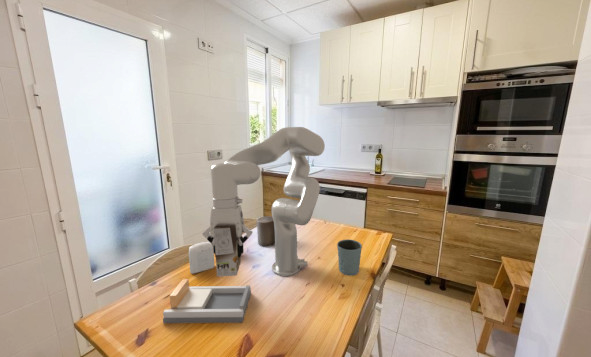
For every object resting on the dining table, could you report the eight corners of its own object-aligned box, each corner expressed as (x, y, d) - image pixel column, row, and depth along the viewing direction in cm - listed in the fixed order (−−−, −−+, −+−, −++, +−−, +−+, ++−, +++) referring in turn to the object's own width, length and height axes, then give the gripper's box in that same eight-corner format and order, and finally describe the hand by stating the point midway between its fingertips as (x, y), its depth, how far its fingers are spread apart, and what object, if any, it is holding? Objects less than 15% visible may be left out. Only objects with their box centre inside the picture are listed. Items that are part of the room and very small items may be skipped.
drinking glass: (362, 267, 106) (363, 241, 104) (358, 279, 97) (359, 251, 95) (340, 262, 110) (340, 237, 108) (334, 273, 101) (334, 247, 99)
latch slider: (212, 293, 86) (210, 278, 85) (202, 312, 77) (200, 295, 76) (184, 294, 86) (182, 279, 85) (171, 312, 77) (169, 295, 76)
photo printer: (213, 263, 110) (211, 238, 108) (216, 267, 107) (214, 241, 104) (189, 270, 105) (186, 244, 102) (191, 275, 101) (188, 248, 99)
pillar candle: (279, 241, 132) (278, 215, 130) (267, 248, 124) (266, 220, 122) (265, 238, 138) (264, 213, 135) (253, 244, 130) (252, 217, 127)
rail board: (251, 293, 89) (250, 282, 88) (242, 322, 75) (241, 309, 74) (183, 294, 89) (182, 283, 88) (163, 323, 75) (161, 310, 74)
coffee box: (237, 276, 75) (234, 227, 72) (216, 277, 74) (213, 228, 72) (241, 261, 84) (239, 217, 81) (222, 262, 83) (219, 218, 81)
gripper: (255, 199, 79) (257, 249, 82) (202, 199, 79) (206, 250, 82) (251, 205, 72) (253, 261, 75) (193, 206, 72) (198, 261, 75)
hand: (228, 254), depth 78 cm, fingers closed on coffee box, 6 cm apart
